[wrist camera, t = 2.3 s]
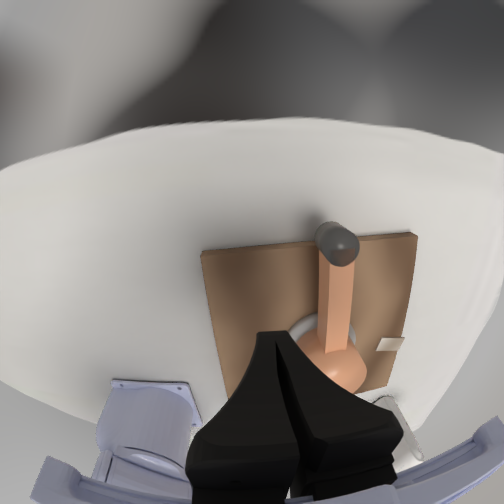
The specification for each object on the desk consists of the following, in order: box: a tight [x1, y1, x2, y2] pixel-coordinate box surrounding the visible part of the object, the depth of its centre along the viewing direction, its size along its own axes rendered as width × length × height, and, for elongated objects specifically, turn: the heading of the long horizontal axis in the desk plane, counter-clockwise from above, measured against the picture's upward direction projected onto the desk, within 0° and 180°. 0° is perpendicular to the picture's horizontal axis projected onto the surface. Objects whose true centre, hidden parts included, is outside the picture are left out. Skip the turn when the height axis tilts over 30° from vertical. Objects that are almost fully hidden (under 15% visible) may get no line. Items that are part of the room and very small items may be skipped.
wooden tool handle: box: [296, 221, 367, 393], centre depth 18 cm, size 14×5×4 cm, turn 5°
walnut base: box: [200, 232, 418, 400], centre depth 23 cm, size 18×18×2 cm
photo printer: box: [374, 396, 424, 473], centre depth 24 cm, size 10×4×12 cm, turn 144°
